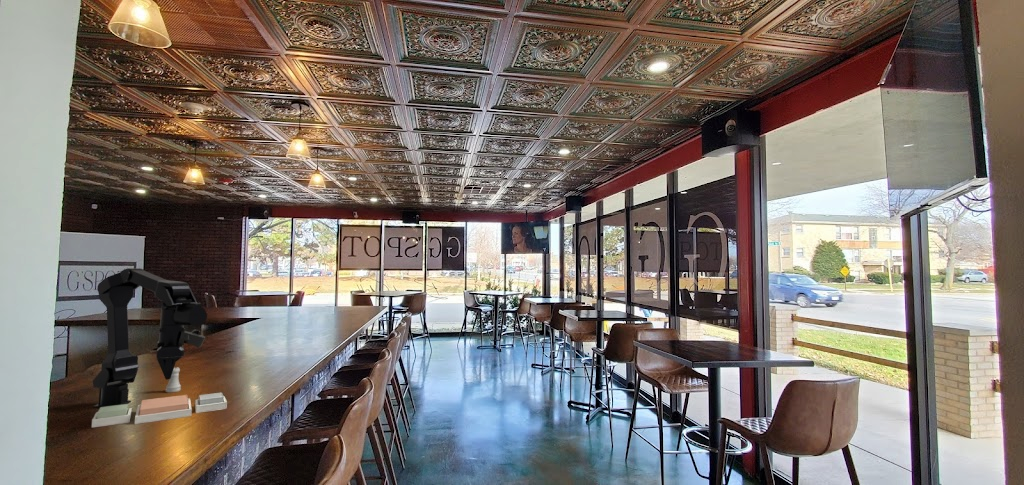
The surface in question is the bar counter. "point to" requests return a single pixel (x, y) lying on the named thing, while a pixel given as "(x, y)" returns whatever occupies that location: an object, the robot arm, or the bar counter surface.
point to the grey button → (210, 398)
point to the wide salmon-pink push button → (162, 415)
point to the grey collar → (210, 406)
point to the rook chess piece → (174, 382)
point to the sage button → (112, 411)
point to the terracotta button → (164, 404)
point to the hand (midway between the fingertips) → (167, 376)
